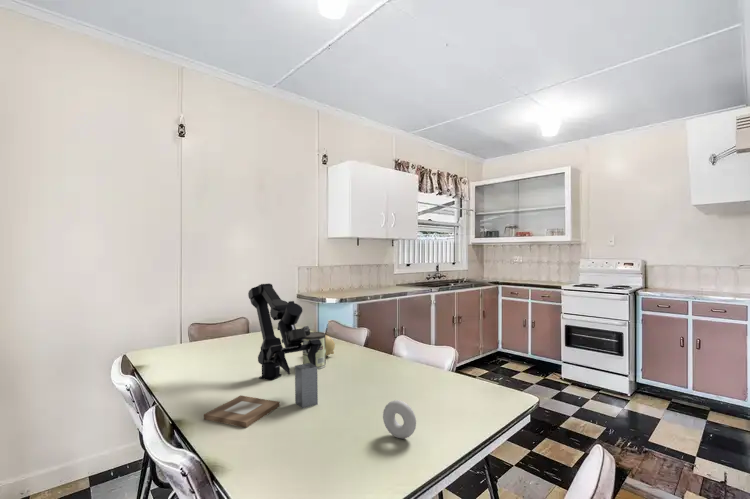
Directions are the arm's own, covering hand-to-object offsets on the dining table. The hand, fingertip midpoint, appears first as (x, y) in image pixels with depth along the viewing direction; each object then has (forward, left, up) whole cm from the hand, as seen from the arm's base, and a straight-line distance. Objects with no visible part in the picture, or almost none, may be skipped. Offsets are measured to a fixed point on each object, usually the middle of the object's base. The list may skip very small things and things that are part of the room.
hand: (302, 370), depth 129 cm
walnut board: (-12, -15, -10) cm, 22 cm away
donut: (+39, -13, -10) cm, 42 cm away
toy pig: (-20, +50, -10) cm, 55 cm away
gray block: (+3, -2, -10) cm, 11 cm away
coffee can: (-16, +35, -10) cm, 40 cm away
